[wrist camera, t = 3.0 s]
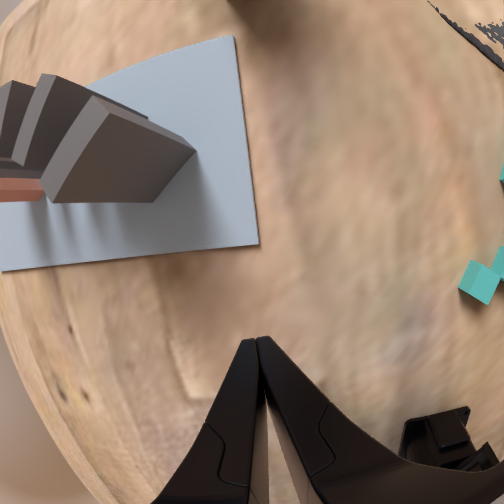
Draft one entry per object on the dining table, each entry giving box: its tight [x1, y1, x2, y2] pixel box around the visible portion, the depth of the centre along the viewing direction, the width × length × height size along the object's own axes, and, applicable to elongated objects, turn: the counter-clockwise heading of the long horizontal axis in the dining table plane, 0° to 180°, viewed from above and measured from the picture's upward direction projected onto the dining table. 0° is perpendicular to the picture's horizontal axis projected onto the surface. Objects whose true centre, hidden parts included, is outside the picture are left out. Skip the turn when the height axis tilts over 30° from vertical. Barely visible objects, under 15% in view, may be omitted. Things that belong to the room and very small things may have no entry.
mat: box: [0, 34, 259, 272], centre depth 23 cm, size 16×32×1 cm, turn 97°
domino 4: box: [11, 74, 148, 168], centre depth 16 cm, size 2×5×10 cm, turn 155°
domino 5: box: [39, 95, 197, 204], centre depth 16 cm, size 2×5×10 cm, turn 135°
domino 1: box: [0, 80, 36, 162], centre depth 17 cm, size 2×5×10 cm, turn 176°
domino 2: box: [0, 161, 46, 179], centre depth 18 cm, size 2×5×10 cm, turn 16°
